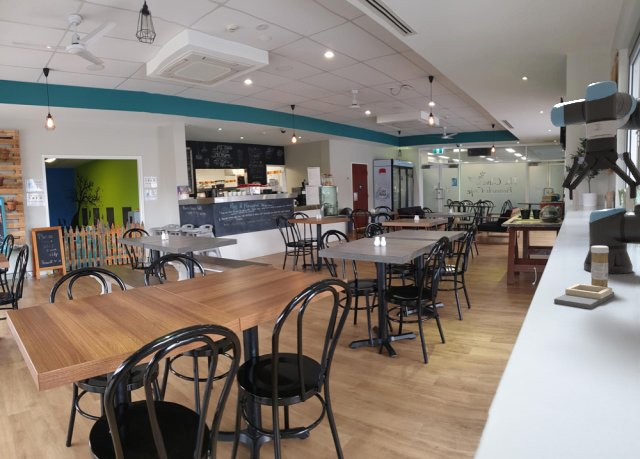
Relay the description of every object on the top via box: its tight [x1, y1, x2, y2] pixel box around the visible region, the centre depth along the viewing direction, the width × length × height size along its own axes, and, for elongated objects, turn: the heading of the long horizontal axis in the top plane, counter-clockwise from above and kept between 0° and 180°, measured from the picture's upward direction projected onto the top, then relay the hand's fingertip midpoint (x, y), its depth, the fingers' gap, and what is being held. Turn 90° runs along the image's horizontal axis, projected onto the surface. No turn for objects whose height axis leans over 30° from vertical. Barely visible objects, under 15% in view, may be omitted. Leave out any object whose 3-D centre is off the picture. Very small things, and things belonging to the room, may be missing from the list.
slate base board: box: [553, 283, 615, 310], centre depth 119 cm, size 18×9×3 cm, turn 128°
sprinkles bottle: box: [590, 246, 609, 287], centre depth 130 cm, size 5×5×13 cm
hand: (601, 210), depth 123 cm, fingers open, 13 cm apart
